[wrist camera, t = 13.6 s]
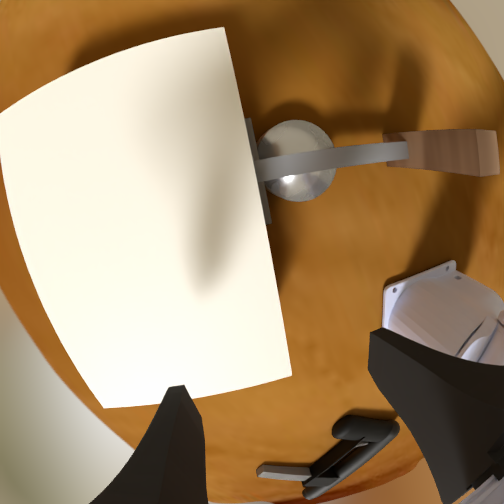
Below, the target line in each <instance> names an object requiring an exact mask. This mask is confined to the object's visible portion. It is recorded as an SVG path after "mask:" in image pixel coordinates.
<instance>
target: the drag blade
mask: <svg viewBox="0 0 504 504" xmlns="http://www.w3.org/2000/svg"><path fill="white" fill-rule="evenodd" d="M244 120H245V125H246V129H247V134H248V139H249V144H250V149H251V154H252V159H253V164H254V169H255V174H256V179H257V184H258V189H259V194H260V199H261V204H262V209H263V214H264V220H265V225H267V224H272V221H271V215H270V210H269V205H268V200H267V195H266V189H265V184H264V181H268V180H273V179H278V178H283V177H288V176H293V175H299V174H304V173H310V172H316V171H322V170H328V169H334V168H341V167H347V166H354V165H361V164H369V163H376V162H385V161H387V166H389V167H403V168H414V169H425V170H434V171H443V172H450V173H458V174H465V175H472V176H478V177H483V176H490V175H496V174H500V166H499V153H498V144H497V135H496V131H492V130H481V129H447V130H426V131H412V132H400V133H389V134H382V135H383V141H384V143H376V144H365V145H355V146H346V147H337V148H329V149H322V150H315V151H308V152H301V153H295V154H289V155H283V156H277V157H271V158H266V159H261V160H259V155H258V150H257V145H256V140H255V136H254V131H253V126H252V121H251V118H245V119H244Z"/></svg>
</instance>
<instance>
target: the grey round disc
mask: <svg viewBox="0 0 504 504" xmlns="http://www.w3.org/2000/svg"><path fill="white" fill-rule="evenodd" d="M256 145H257V150H258V155H259V160H261V159H266V158H271V157H277V156H283V155H289V154H295V153H301V152H308V151H315V150H322V149H329V148H334V146H333V143H332V141H331V140H330V138H329V137H328V135H327V134H326V133H325V132H324V131H323V130H322V129H321V128H319V127H318V126H316V125H314V124H312V123H310V122H307V121H303V120H289V121H285V122H282V123H279V124H278V125H276V126H274V127H272V128H271V129H269V130H268V131H266V132H265V133H264V134H263V135H262V136H261V137H260V138H259V140H258V141H257V143H256ZM335 172H336V168H334V169H328V170H322V171H316V172H310V173H304V174H299V175H293V176H288V177H283V178H278V179H273V180H268V181H264V184H265V189H266V190H267V191H269V192H270V193H272V194H274V195H276V196H278V197H281V198H283V199H286V200H290V201H296V202H301V201H308V200H311V199H314V198H316V197H318V196H319V195H321V194H322V193H323V192H324V191H325V190H326V189H327V188H328V187H329V185H330V184H331V182H332V180H333V178H334V176H335Z"/></svg>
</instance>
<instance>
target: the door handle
mask: <svg viewBox="0 0 504 504" xmlns="http://www.w3.org/2000/svg"><path fill="white" fill-rule="evenodd" d="M399 430H400V426H399V424H398V422H396V421H395V420H387V421H384V420H377V419H371V418H365V417H359V416H354V415H348V416H345V417H343V418H342V419H340V420H339V421H338V422H337V423H336V424H335V425H334V426H333V429H332V435H333V437H334V438H337V439H343V440H342V441H341V442H339V443H338V444H337V445H336V446H335V447H334V448H332V449H331V450H330V451H329V452H328V453H327V454H325V455H324V456H323V457H322V458H320V459H319V460H318V461H317V462H315V463H314V464H313V465H311V466H310V467H309V468H308V467H285V466H272V465H262V466H260V467H259V468H258V469H257V470H256V473H257V477H263V478H272V479H282V480H294V481H302V485H303V486H306V488H305V489H304V490H303V491H302V494H303V496H304V497H305V498H306V499H309V500H311V499H313V498H316V497H318V496H320V495H322V494H323V493H325V492H326V491H328V490H329V489H331V488H332V487H334V486H335V485H337V484H338V483H339V482H341V481H342V480H344V479H345V478H346V477H348V476H349V475H351V474H352V473H353V472H355V471H356V470H357V469H358V468H360V467H361V466H362V465H364V464H365V463H366V462H367V461H369V460H370V459H371V458H372V457H373V456H375V455H376V454H377V453H378V452H379V451H380V450H382V449H383V448H384V447H385V446H386V445H387V444H388V443H389V442H390V441H392V440H393V439H394V438H395V437H396V436H397V435H398V433H399ZM355 447H357V448H356V449H354V450H353V451H352V452H351V453H350V454H348V455H347V456H346V457H345V458H344V459H342V460H341V461H340V462H339V463H337V464H336V465H335V466H333V465H334V464H335V463H336V462H338V461H339V460H340V459H341V458H343V457H344V456H345V455H346V454H347V453H349V452H350V451H351V450H352V449H353V448H355Z"/></svg>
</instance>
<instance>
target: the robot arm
mask: <svg viewBox="0 0 504 504" xmlns="http://www.w3.org/2000/svg"><path fill="white" fill-rule="evenodd" d="M393 289H394V290H393ZM368 371H369V373H370V374H371V376H372V378H373V380H374V382H375V383H376V385H377V387H378V389H379V390H380V391H381V393H382V394H383V395H384V397H385V398H386V399H387V400H388V402H389V403H390V404H391V406H392V407H393V408H394V410H395V411H396V412H397V413H398V415H399V416H400V417H401V419H402V420H403V421H404V423H405V424H406V425H407V427H408V428H409V430H410V431H411V433H412V435H413V437H414V438H415V440H416V442H417V444H418V446H419V447H420V449H421V451H422V453H423V455H424V457H425V459H426V461H427V463H428V466H429V468H430V470H431V473H432V475H433V477H434V480H435V483H436V485H437V488H438V491H439V494H440V498H441V501H442V502H443V504H452V503H453V502H455V501H456V500H457V499H458V498H460V497H461V496H463V495H464V494H465V493H466V492H468V491H469V490H470V489H471V488H474V489H475V491H474V492H473V493H471V494H470V495H469V496H468V497H466V498H465V499H464V500H462V501H461V502H460V503H459V504H504V303H503V301H502V299H501V298H500V296H499V295H498V294H497V293H496V292H495V291H493V290H492V289H490V288H488V287H487V286H485V285H483V284H481V283H479V282H477V281H476V280H474V279H472V278H470V277H468V276H466V275H464V274H462V273H461V272H459V271H457V270H456V261H454V260H451V261H448V262H446V263H444V264H441V265H439V266H436V267H434V268H431V269H429V270H427V271H424V272H422V273H419V274H416V275H414V276H411V277H409V278H406V279H404V280H401V281H398V282H396V283H393V284H390V285H388V286H386V287H385V289H384V294H383V319H382V328H380V329H377V330H375V331H372V332H370V344H369V359H368ZM89 504H208V498H207V490H206V466H205V438H204V431H203V424H202V417H201V415H200V414H199V412H198V410H197V408H196V406H195V404H194V402H193V401H192V399H191V397H190V395H189V393H188V391H187V389H186V387H185V385H178V386H172V387H169V388H168V389H167V391H166V393H165V395H164V397H163V399H162V401H161V404H160V406H159V408H158V410H157V412H156V414H155V416H154V418H153V420H152V422H151V424H150V425H149V427H148V429H147V431H146V433H145V435H144V436H143V438H142V440H141V441H140V443H139V445H138V446H137V448H136V450H135V451H134V453H133V455H132V456H131V457H130V459H129V461H128V462H127V463H126V464H125V466H124V467H123V468H122V470H121V471H120V473H119V474H118V475H117V476H116V477H115V478H114V480H113V481H112V482H111V483H110V484H109V485H108V486H107V487H106V488H105V489H104V490H103V491H102V492H101V493H100V494H99V495H98V496H97V497H96V498H95V499H94V500H93V501H92V502H90V503H89Z"/></svg>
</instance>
